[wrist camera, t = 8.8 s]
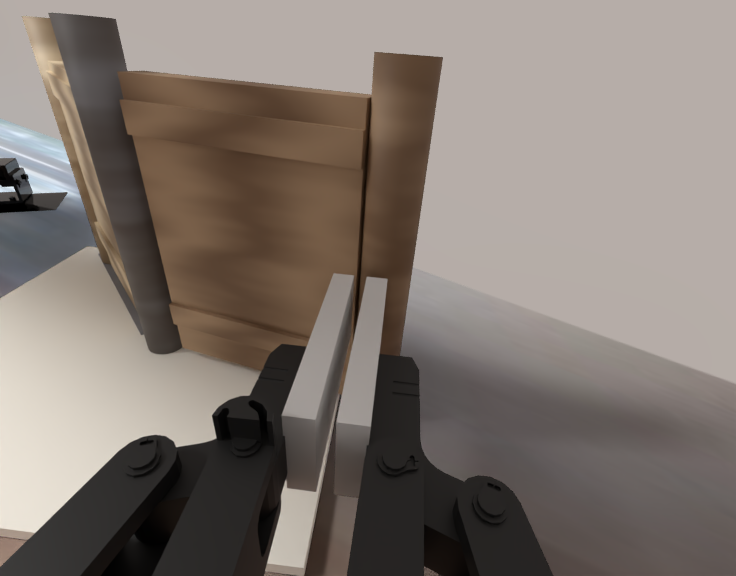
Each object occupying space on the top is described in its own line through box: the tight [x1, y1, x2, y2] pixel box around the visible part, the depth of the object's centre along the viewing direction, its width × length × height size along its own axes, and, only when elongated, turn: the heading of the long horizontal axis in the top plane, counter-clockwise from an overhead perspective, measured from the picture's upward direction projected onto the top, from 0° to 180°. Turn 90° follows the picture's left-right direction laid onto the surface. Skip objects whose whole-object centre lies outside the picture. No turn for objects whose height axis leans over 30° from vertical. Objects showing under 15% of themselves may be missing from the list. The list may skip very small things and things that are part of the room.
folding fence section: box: [117, 52, 443, 395], centre depth 16 cm, size 11×2×14 cm, turn 72°
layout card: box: [0, 246, 340, 576], centre depth 22 cm, size 22×20×1 cm
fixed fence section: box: [22, 13, 182, 354], centre depth 21 cm, size 14×2×15 cm, turn 40°
